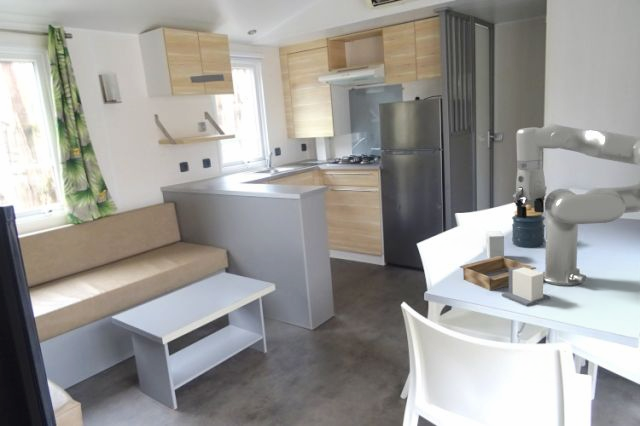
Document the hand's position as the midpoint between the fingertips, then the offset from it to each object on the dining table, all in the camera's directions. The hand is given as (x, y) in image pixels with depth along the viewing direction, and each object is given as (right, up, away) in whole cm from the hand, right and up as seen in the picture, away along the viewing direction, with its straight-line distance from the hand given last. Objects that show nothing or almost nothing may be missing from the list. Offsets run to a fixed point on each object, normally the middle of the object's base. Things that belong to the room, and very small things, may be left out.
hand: (530, 214), depth 154 cm
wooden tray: (-8, -23, +8) cm, 26 cm away
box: (-6, -26, -10) cm, 28 cm away
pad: (-6, -26, -10) cm, 29 cm away
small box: (-1, -18, +29) cm, 34 cm away
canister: (+20, -13, +44) cm, 50 cm away
